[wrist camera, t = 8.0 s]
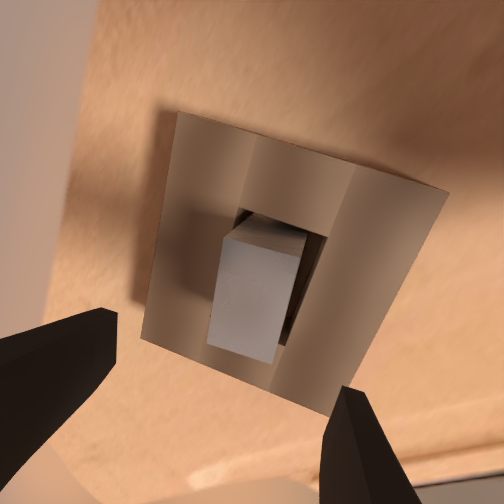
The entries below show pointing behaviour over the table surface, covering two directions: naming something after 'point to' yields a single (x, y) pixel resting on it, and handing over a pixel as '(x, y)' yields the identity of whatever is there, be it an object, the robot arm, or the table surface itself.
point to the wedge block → (255, 286)
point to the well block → (298, 214)
